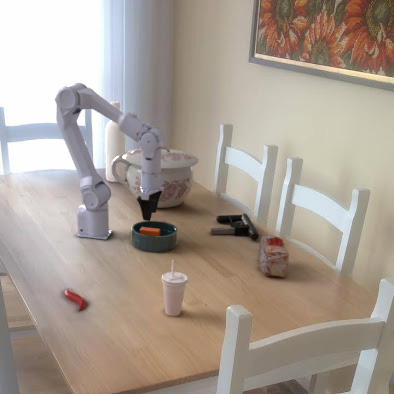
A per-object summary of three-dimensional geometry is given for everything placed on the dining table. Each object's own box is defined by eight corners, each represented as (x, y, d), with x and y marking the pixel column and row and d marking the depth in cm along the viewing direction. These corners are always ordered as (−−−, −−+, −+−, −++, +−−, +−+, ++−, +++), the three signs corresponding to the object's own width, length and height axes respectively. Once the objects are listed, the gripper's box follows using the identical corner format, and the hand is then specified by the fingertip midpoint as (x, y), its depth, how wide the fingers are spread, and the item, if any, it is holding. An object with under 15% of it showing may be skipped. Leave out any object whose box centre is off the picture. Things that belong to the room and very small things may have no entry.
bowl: (126, 249, 175) (126, 233, 172) (137, 233, 187) (137, 218, 184) (172, 255, 173) (172, 239, 171) (180, 238, 185) (181, 223, 183)
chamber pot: (209, 202, 219) (213, 146, 208) (168, 220, 199) (171, 159, 188) (150, 187, 231) (151, 133, 220) (106, 202, 211) (105, 144, 200)
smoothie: (159, 306, 145) (161, 254, 138) (184, 306, 146) (188, 255, 138) (160, 318, 140) (162, 265, 132) (186, 318, 140) (190, 266, 133)
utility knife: (139, 241, 179) (139, 229, 177) (141, 238, 181) (141, 226, 179) (167, 245, 178) (168, 233, 176) (169, 242, 181) (169, 230, 178)
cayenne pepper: (88, 310, 141) (88, 303, 140) (69, 311, 139) (68, 304, 138) (81, 288, 150) (81, 282, 149) (63, 290, 149) (63, 283, 148)
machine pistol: (214, 234, 184) (263, 232, 186) (205, 213, 201) (250, 211, 203) (214, 243, 186) (262, 241, 188) (205, 222, 203) (249, 221, 204)
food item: (288, 279, 164) (294, 247, 159) (261, 279, 163) (265, 246, 158) (278, 260, 175) (283, 230, 170) (252, 260, 175) (257, 229, 169)
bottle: (103, 181, 234) (102, 102, 218) (109, 176, 240) (108, 99, 225) (122, 183, 233) (122, 104, 217) (127, 178, 240) (127, 101, 224)
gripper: (159, 179, 162) (157, 225, 170) (169, 167, 175) (166, 210, 182) (134, 176, 163) (134, 222, 170) (146, 164, 175) (145, 207, 183)
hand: (149, 216), depth 176 cm, fingers open, 7 cm apart
